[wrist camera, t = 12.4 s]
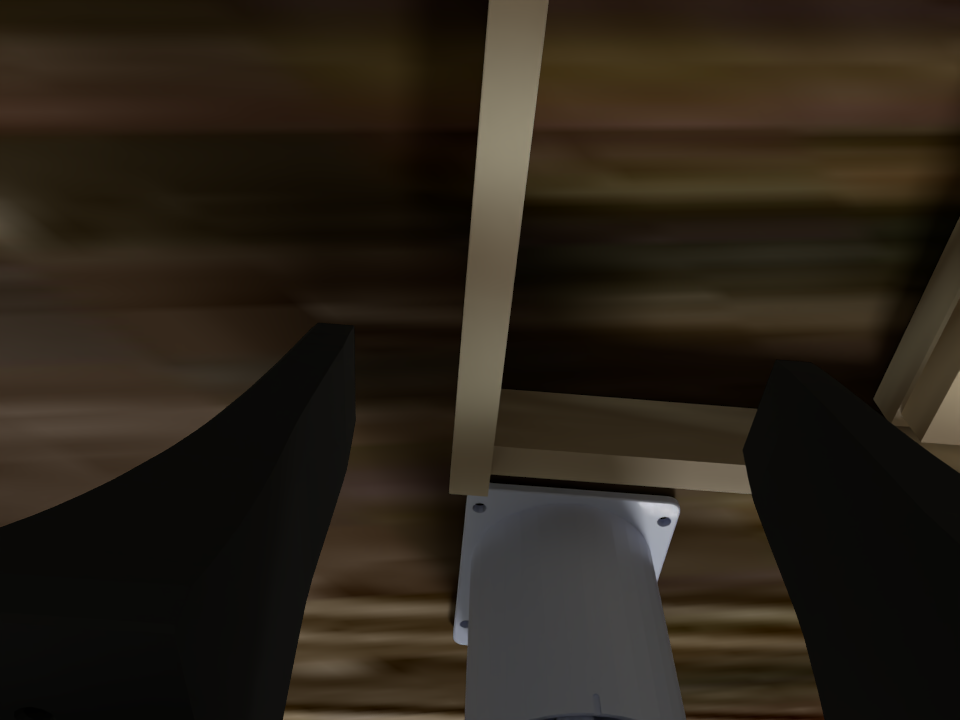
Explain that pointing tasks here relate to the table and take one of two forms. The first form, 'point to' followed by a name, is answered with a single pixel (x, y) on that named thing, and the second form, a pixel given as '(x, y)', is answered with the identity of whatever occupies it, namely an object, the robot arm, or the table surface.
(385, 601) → the table surface
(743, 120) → the table surface
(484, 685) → the robot arm
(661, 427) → the rack
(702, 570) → the table surface
